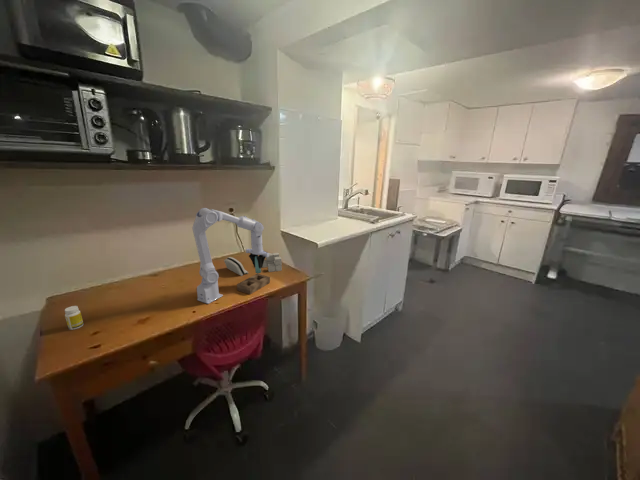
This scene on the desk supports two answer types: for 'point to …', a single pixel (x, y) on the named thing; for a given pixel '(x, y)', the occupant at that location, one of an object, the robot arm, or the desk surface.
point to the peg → (257, 266)
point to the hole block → (253, 283)
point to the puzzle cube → (273, 262)
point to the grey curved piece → (235, 266)
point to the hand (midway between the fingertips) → (258, 267)
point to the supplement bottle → (73, 317)
